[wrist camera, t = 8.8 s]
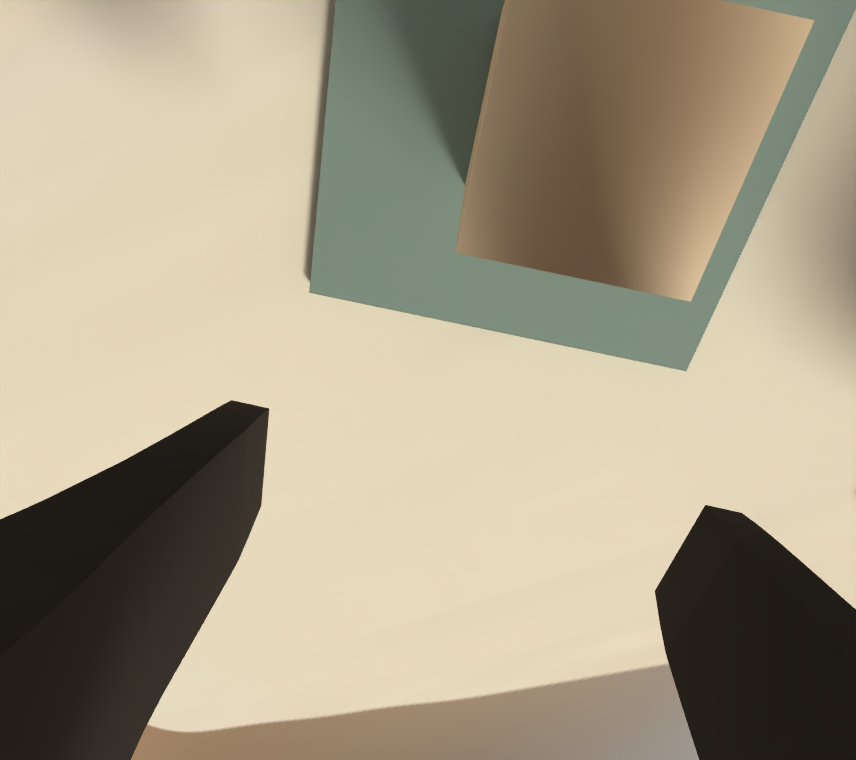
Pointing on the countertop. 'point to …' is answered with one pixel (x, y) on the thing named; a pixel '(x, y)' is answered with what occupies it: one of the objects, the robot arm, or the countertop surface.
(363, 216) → the rubber mat
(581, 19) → the maple block
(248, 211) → the countertop surface
